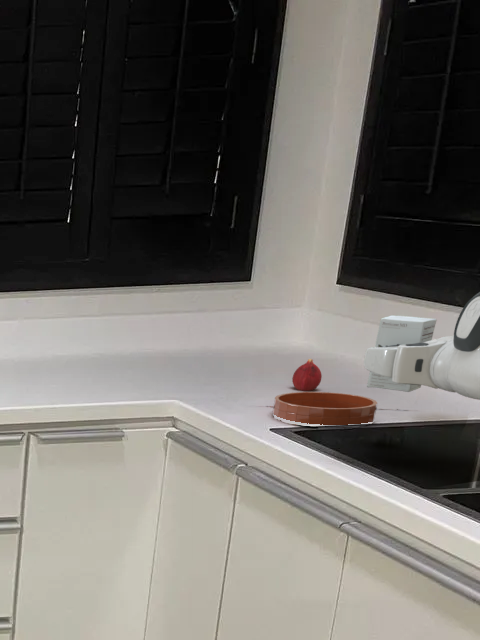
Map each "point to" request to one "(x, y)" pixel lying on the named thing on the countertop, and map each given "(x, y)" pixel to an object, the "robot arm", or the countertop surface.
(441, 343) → the robot arm
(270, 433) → the countertop surface
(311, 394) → the bowl
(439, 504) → the countertop surface
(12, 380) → the countertop surface
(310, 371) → the onion
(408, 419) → the countertop surface
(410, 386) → the white packaging box
